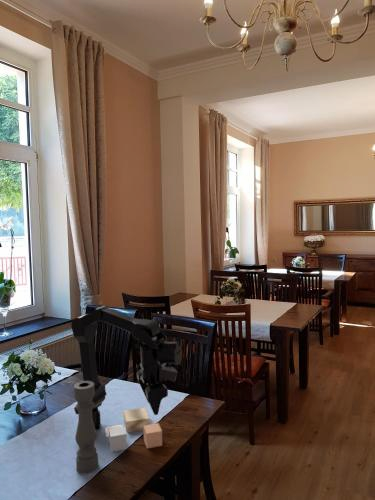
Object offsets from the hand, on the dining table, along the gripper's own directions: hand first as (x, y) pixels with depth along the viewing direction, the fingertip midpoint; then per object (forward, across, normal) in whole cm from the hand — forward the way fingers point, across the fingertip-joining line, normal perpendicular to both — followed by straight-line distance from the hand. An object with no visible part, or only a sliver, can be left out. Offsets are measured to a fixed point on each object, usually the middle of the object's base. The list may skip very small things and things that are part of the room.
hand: (152, 408), depth 127 cm
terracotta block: (+12, 0, +1) cm, 12 cm away
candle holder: (+11, -6, +22) cm, 25 cm away
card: (+11, +11, +12) cm, 19 cm away
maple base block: (+11, +13, +4) cm, 18 cm away
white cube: (+11, +2, +12) cm, 16 cm away
